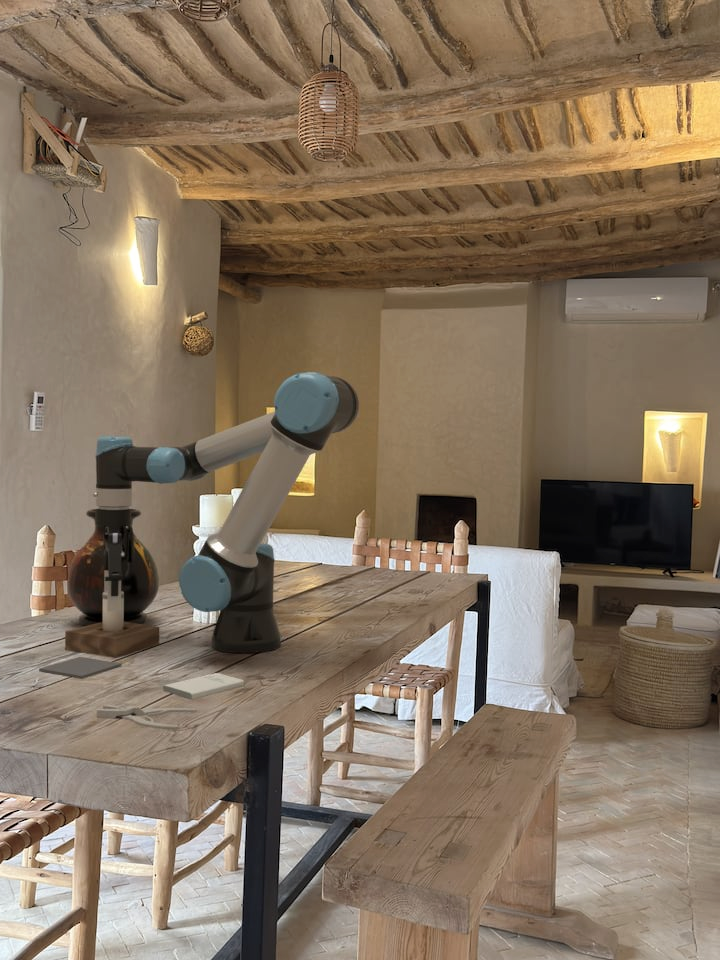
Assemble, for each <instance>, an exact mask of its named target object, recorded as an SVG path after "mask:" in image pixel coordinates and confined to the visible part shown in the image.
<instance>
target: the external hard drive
mask: <svg viewBox="0 0 720 960" xmlns="http://www.w3.org/2000/svg"><path fill="white" fill-rule="evenodd" d="M244 686H245V681H244V680H243V678H242V679H241V678H238V677H235V676H230V675H225V674H223V673H218V672H214V673H210V674H206V675H202V676H198V677H193V678H189V679H185V680H181V681H177V682H172V683H168V684H164V685H163V686H162V691H163V692H167V693H170V694H173V695H176V696H179V697H182V698H186V699H189V700H195V699H196V700H197V699H199V698H200V699H201V698H203V697H207V696H210V695H214V694H218V693H221V692H224V691H229V690H233V689H237V688H240V687H244Z"/></svg>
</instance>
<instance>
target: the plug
mask: <svg viewBox="0 0 720 960" xmlns="http://www.w3.org/2000/svg"><path fill="white" fill-rule="evenodd" d="M107 595H108V591H106V592H103V631H107V632H118V631H121V630H124V592H123V591H121V611H113V612H107Z"/></svg>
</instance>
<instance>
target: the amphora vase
mask: <svg viewBox="0 0 720 960" xmlns="http://www.w3.org/2000/svg"><path fill="white" fill-rule="evenodd" d="M96 509H97V508H95V509H88V510H87V511H86V516H87V517H88V518H91V519H92V520H94V522H95V511H96ZM129 509H130V510H131V525H130V526H127V527H119V533H121V534H122V535H123V543H122V553H121V569H122V579H121V591H123V592H124V622H129V623H136V624H144V625H146V623H147V622H148V620H149V616H148V614H147V613H146V612H144V611H145V610H147V609H148V608H149V607H150V605H152V603H153V602H154V600H155V599H156V597H157V595H158V591H159V581H160V579H159V574H158V568H157V565H156V563H155V562H156V561H155V559H154V557H153V555H152V553H151V552H150V550H149V549H148V548H147V547H146V546H145V544H143V542H142V541H141V540H140V539H139V538H138V537H137V536H136V534H135V533H134V529H133V523H134V519H136V518H138V517H141V515H142V512H141V511H140V510H139V509H136V508H129ZM94 525H95V526H94V532H93V533H92V535H91V537H89V539H88V540H87V541H85V543H84V544H83V545H82V546H81V547H80V548H79V549H78V550H77V552H76V554H75V556H74V557H73V559H72V561H71V564H70V567H69V570H68V576H67V581H66V583H67V584H66V585H67V594H68V598H69V599H70V602H71V603H72V604H73V605H74V607H76V609H77V610H78V611H79V612H81V613H82V614H81V615H80V616H78V618H77V623H78V625H80V627H84V626H88V625H92V624H96V623H100V622H103V592H104V573H105V568H104V566H105V565H104V562H105V550H104V541H103V534H106V531H105V528H106V527H100V526H97V525H96V524H95V523H94Z"/></svg>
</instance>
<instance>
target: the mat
mask: <svg viewBox="0 0 720 960" xmlns="http://www.w3.org/2000/svg"><path fill="white" fill-rule="evenodd" d="M122 666H123V665H122V663H121V662H115V661H109V660H104V659H103V660H102V659H96V658H91V657H85V656H84V657H83V656H77V657H75V658H71V659H67V660H63V661H60V662H57V663H54V664H50V665H46V666H42V667H40V668H38V669H39V671H38V672H44V673H48V674H53V673H54V674H55V675H59V674H60V675H61V676H64V675H66V677H70V676H72V677H71V678H76V677H77V679H81V678H82V679H85V678H89V677H91V676H95V675H97V674H101V673H103V672H108V671H110V670H113V669H117V668H119V667H120V668H121V667H122ZM60 675H59V676H60ZM88 676H89V677H88ZM84 677H85V678H84Z"/></svg>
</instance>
